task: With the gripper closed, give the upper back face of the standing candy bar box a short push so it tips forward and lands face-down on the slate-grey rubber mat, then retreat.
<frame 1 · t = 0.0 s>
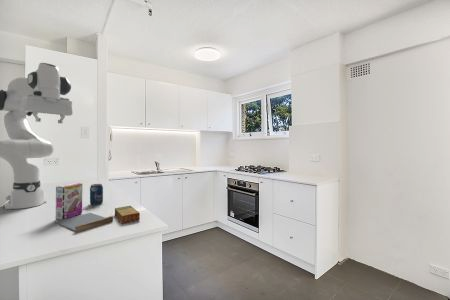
hand: (49, 122, 113), 48 cm above the counter, fingers open, 8 cm apart
candy bar box: (69, 217, 112), on the counter
mat: (83, 221, 105), on the counter
carton: (126, 218, 112), on the counter
stop rail: (95, 226, 100), on the counter
soda can: (96, 204, 135), on the counter
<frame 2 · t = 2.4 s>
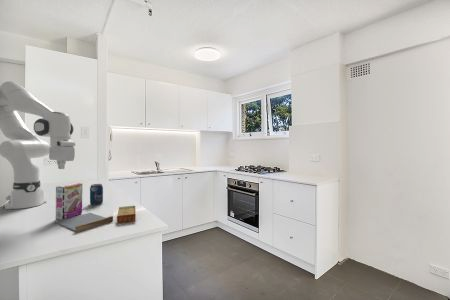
hand: (61, 168, 116), 24 cm above the counter, fingers closed
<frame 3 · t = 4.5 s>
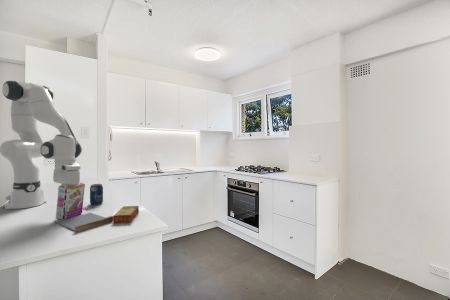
hand: (65, 192, 114), 12 cm above the counter, fingers closed
candy bar box: (69, 216, 112), on the counter, touching gripper
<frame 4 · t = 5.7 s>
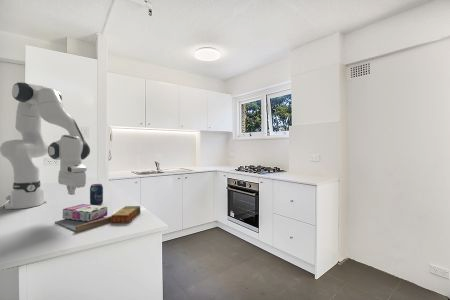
hand: (71, 194, 111), 12 cm above the counter, fingers closed
candy bar box: (72, 211, 112), point 3 cm above the counter, touching mat
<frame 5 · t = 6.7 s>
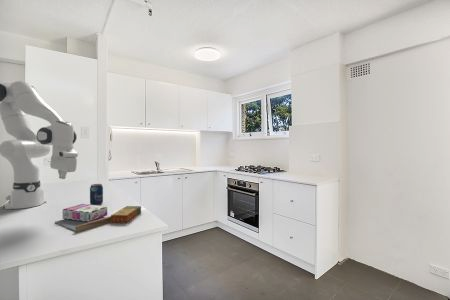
hand: (62, 178, 115), 19 cm above the counter, fingers closed
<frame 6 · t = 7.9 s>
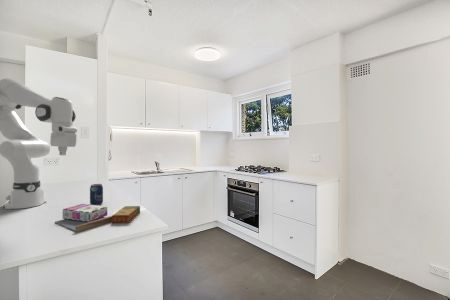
hand: (62, 155, 115), 31 cm above the counter, fingers closed
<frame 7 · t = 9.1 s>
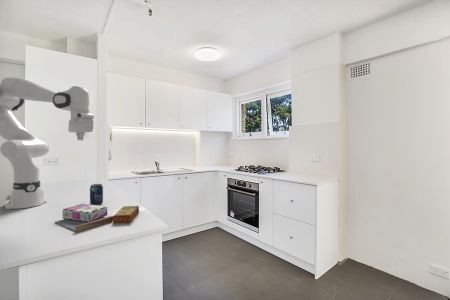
hand: (80, 140, 124), 39 cm above the counter, fingers closed
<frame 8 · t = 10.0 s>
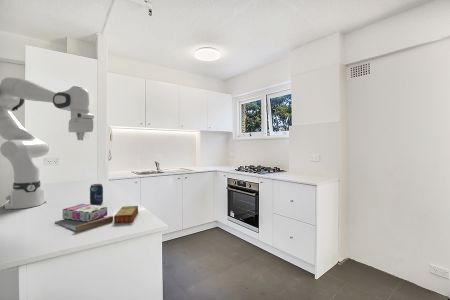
hand: (80, 140, 124), 39 cm above the counter, fingers closed
at the end: candy bar box tilted 89°; candy bar box inside the target area (7.4 cm from its centre), point 3.0 cm above the counter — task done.
